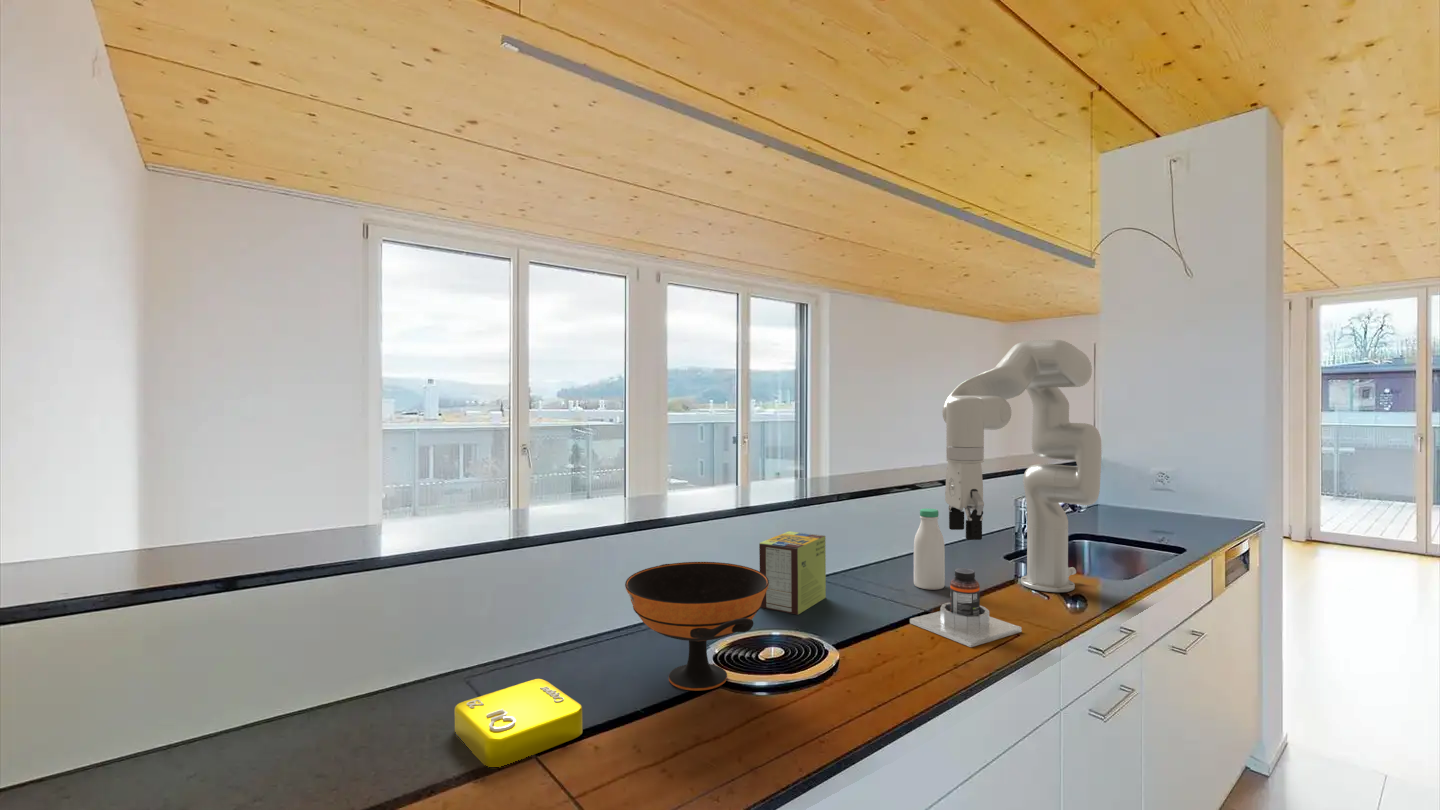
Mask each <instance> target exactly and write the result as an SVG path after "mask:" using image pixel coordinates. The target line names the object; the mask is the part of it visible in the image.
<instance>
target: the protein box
mask: <svg viewBox="0 0 1440 810" xmlns="http://www.w3.org/2000/svg"><path fill="white" fill-rule="evenodd" d="M758 549H759V552H758V553H759V571H760V572H761V573H763V574H764V575H766V576H767V578H768V580H769V586H768V588H767V591H766V593H765V595H764V598H763V600H762V605H761V608H763V609H767V610H772V611H776V612H781V613H782V612H783V613H786V614H792V615H795V616H797V615H800V614H802V613H803V612H806V610H808V609H810V608H811V607H813V606H814V605H816V604H819V602H821V601H823V600H824V599H826V594H827V593H826V590H827V589H826V586H827V585H826V582H827V581H826V580H827V579H826V578H827V577H826V576H827V575H826V573H827V571H826V569H827V568H826V565H827V564H826V563H827V561H826V560H827V558H826V556H827V555H826V535H824V534H823V535H822V534H812V533H807V532H805V533H804V532H797V531H790V530H789V531H786V532H783V533H781V534H778V535H775V536H773V537H771V538H768V539H766V540H763V541H761V542H759V548H758ZM761 608H760V609H761Z"/></svg>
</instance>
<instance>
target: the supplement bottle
mask: <svg viewBox="0 0 1440 810" xmlns="http://www.w3.org/2000/svg"><path fill="white" fill-rule="evenodd" d="M975 573H976V571H975V570H973V569H971V568H963V567H961V568H955V570H954V578H952V579H951V581H950V586H949V587H950V589H949V590H950V592H949V593H950V594H949V596H950V597H949V598H950V599H949V600H950V601H949V602H950V612H952V613H955V614H961V615H980V606H981V604H980V597H981V596H980V595H981V591H980V590H981V589H980V587H981V586H980V583H979V581H978V580H976V574H975Z"/></svg>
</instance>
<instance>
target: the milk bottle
mask: <svg viewBox="0 0 1440 810" xmlns="http://www.w3.org/2000/svg"><path fill="white" fill-rule="evenodd" d="M919 519H920V523H919V526H918V529H917V530H916V532H915V535H914V540H913V584H914V586H915V587H916V588H920V589H922V590H930V591H931V590H933V591H934V590H935V591H936V590H942V589H943V588H944V587H945V585H946V584H945V583H946V582H945V581H946V579H945V577H946V574H945V573H946V571H945V570H946V566H945V564H946V563H945V562H946V557H945V556H946V555H945V554H946V553H945V547H946V546H945V539H944V536H943V533H942V531H941V529H940V527H939V526H940V525H939V523H938V519H939V510H938V509H936V508H920V510H919Z"/></svg>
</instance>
